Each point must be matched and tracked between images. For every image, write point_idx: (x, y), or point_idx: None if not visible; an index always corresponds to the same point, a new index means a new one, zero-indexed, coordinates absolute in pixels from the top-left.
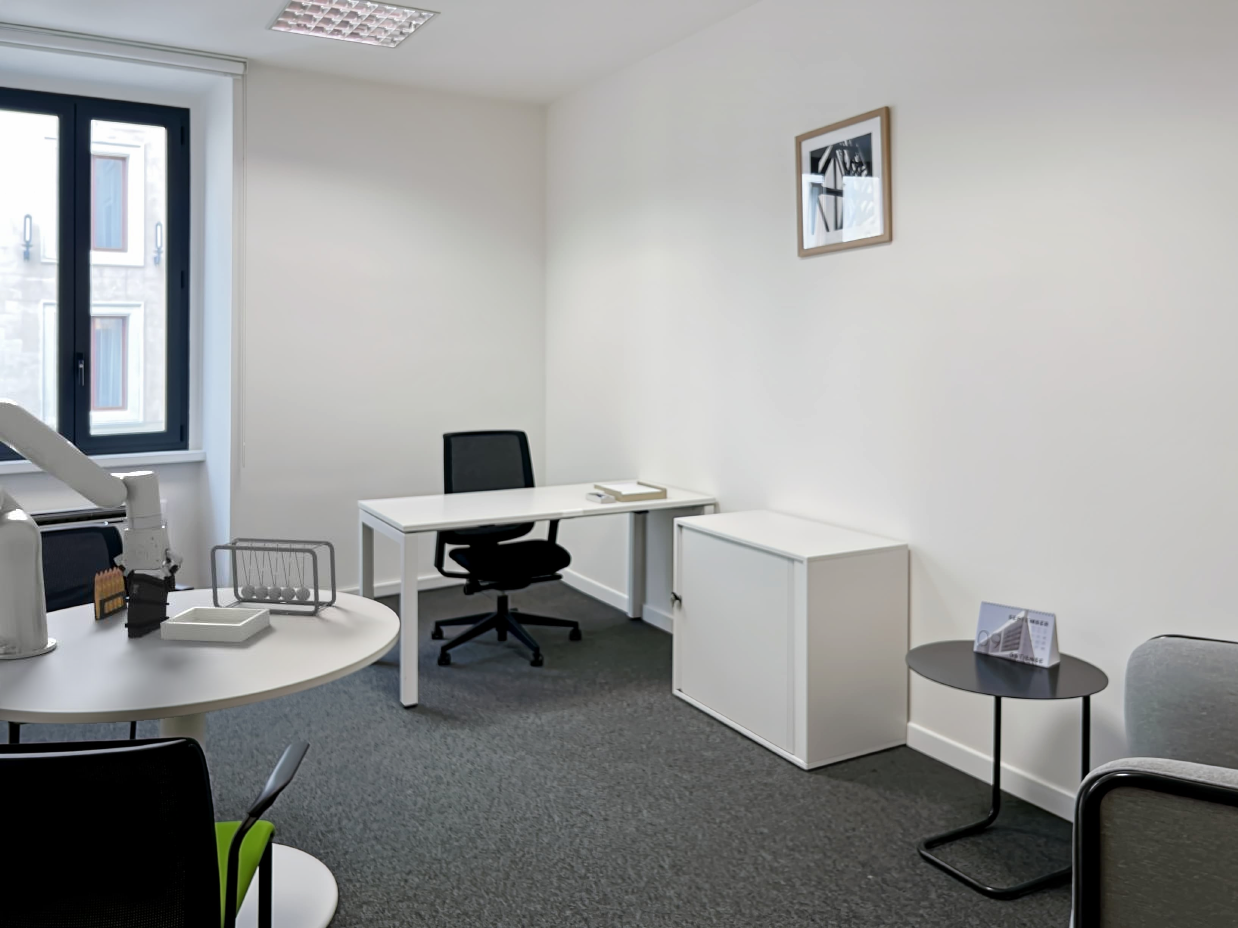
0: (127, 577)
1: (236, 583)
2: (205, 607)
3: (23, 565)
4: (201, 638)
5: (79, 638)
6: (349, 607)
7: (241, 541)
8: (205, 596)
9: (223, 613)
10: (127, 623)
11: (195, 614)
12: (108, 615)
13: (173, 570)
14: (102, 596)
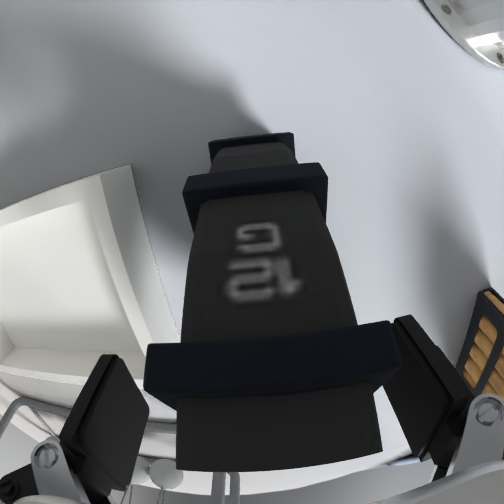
0: (458, 392)
1: (230, 496)
2: None
3: None
4: (16, 202)
5: (441, 106)
6: (28, 425)
7: None
8: (324, 464)
9: (78, 365)
10: (276, 135)
11: None
12: (473, 319)
13: (22, 474)
14: None
